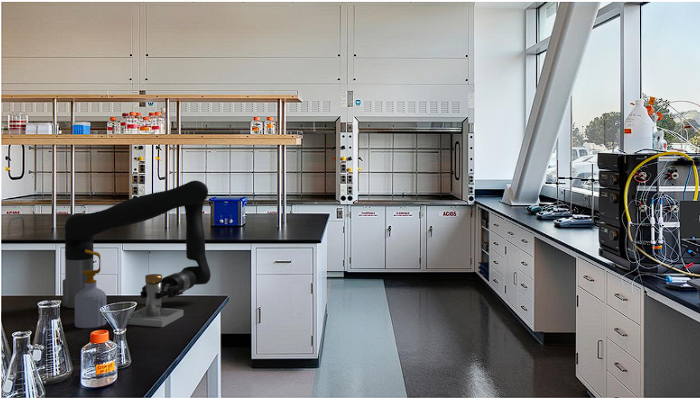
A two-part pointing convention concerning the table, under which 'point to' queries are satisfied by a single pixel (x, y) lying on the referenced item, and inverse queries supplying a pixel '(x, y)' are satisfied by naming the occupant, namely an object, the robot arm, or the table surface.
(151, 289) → the shaker
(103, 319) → the soap bottle
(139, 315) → the ball
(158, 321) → the tray
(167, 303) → the table surface
